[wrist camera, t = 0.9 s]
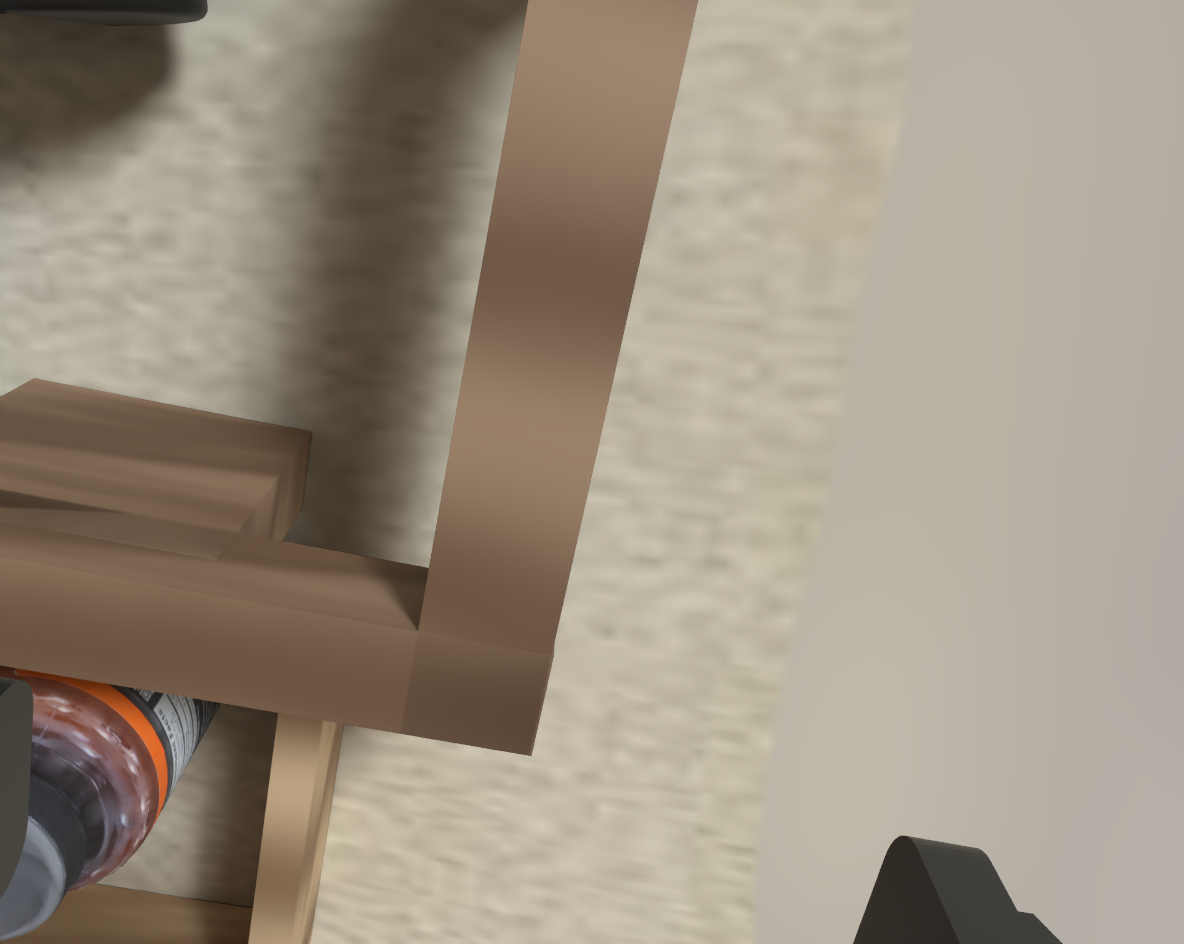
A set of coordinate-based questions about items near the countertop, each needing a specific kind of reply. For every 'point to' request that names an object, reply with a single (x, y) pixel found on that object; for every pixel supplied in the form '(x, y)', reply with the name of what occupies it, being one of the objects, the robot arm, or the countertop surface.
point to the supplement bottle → (93, 784)
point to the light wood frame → (284, 880)
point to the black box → (111, 10)
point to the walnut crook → (280, 454)
